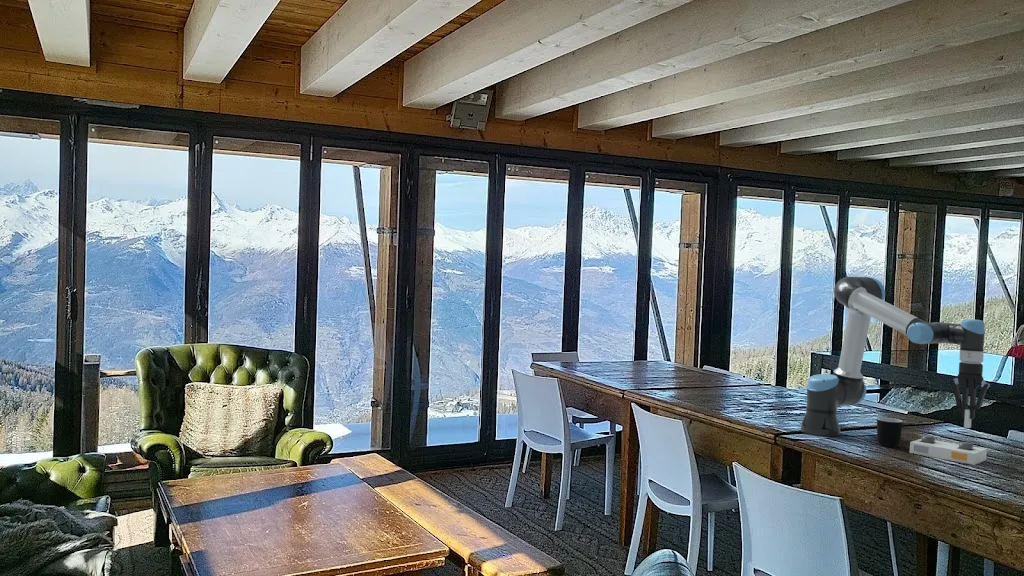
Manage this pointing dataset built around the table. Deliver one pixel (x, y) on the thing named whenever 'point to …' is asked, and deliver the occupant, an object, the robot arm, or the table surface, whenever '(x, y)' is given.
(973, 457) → the white rectangular box
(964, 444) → the grey dome
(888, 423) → the mug
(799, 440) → the table surface
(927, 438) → the dark grey rounded piece
